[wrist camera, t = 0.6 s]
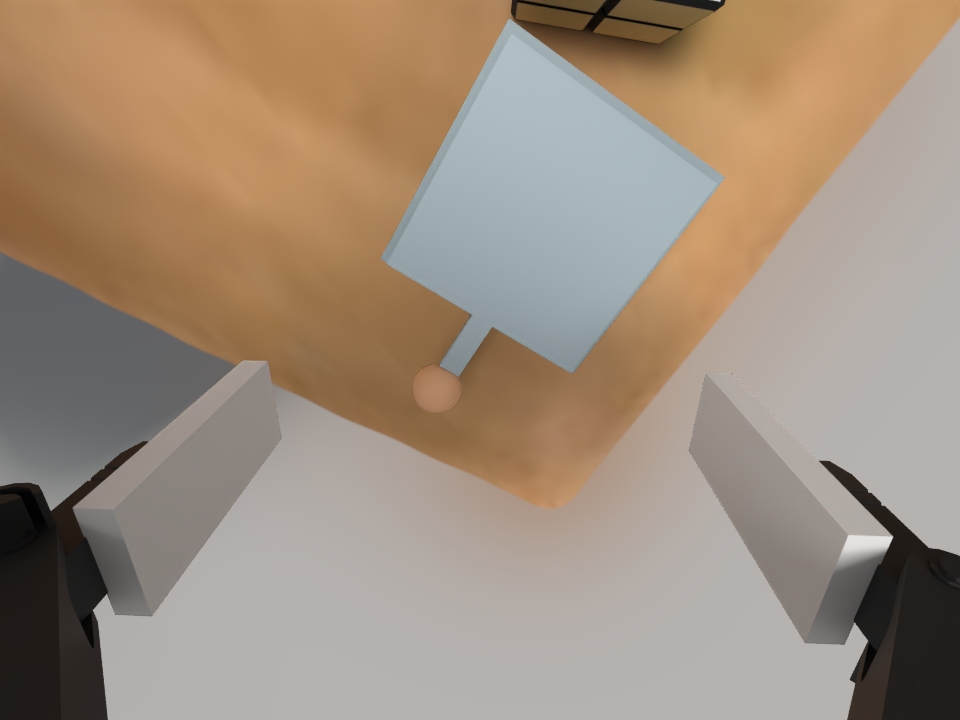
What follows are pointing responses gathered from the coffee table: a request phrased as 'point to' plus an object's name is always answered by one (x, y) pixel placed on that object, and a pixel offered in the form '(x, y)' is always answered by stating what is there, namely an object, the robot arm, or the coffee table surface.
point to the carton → (587, 83)
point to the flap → (541, 218)
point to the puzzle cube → (618, 15)
